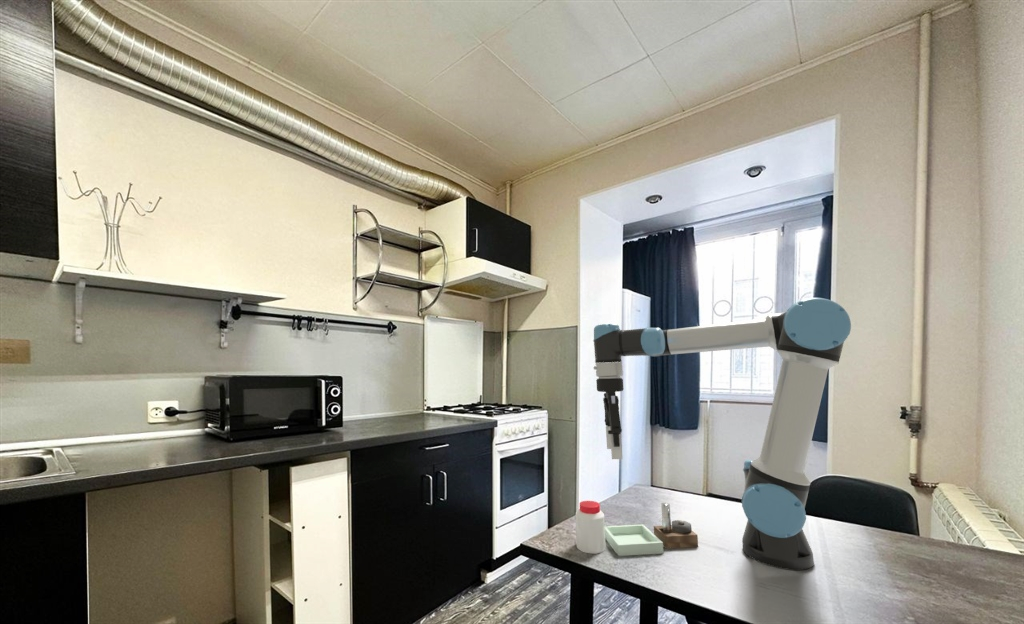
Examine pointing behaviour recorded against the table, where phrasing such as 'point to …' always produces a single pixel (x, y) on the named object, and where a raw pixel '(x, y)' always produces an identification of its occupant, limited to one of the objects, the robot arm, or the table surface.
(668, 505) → the clear translucent rod
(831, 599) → the table surface
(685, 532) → the brown and grey block
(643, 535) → the tray
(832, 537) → the table surface
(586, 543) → the pill bottle
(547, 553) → the table surface
